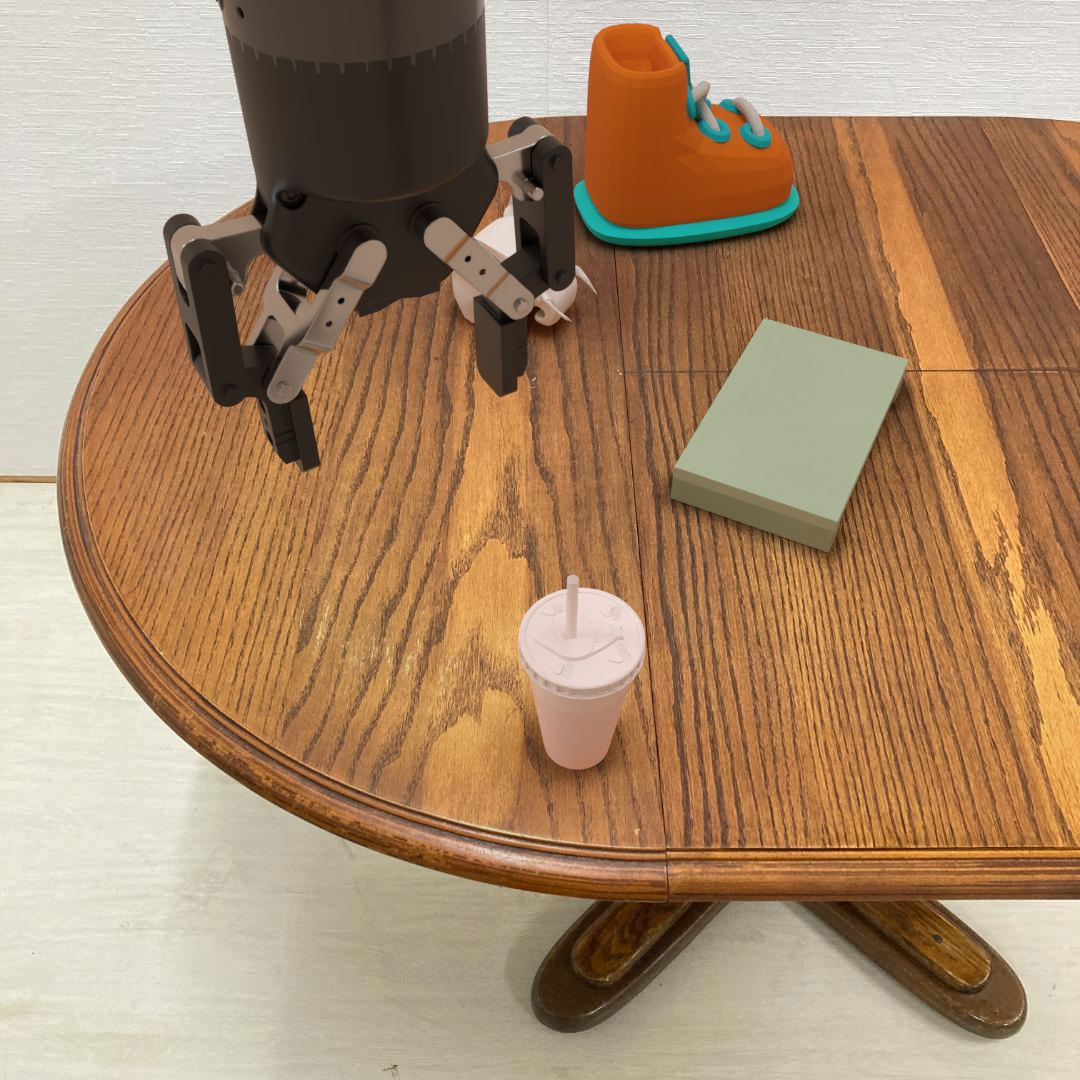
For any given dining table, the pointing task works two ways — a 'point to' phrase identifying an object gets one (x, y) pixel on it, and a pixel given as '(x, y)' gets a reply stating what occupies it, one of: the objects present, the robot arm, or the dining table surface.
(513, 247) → the elephant figurine
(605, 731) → the smoothie
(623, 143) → the toy shoe
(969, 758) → the dining table surface
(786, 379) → the shelf
